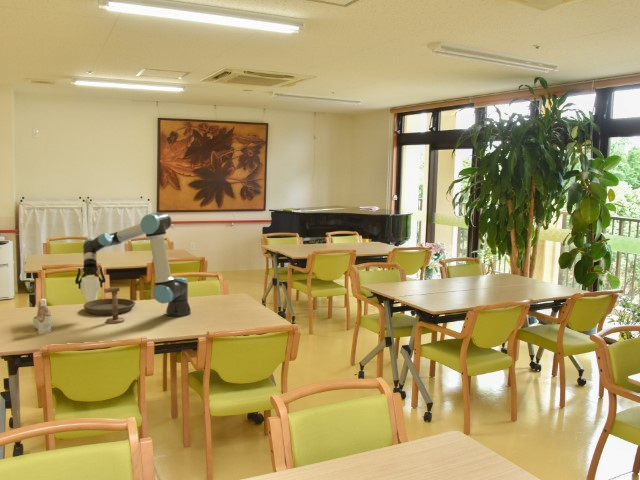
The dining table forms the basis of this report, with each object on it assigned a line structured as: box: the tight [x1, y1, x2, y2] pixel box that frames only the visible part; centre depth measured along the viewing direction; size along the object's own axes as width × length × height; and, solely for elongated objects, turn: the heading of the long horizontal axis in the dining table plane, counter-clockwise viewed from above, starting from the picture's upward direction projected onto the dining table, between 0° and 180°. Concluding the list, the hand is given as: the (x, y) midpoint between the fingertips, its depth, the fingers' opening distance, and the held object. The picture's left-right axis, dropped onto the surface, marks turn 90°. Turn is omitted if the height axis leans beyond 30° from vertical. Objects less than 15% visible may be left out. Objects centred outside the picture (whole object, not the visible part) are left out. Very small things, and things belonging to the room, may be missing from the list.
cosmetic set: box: [32, 298, 52, 335], centre depth 330 cm, size 25×9×19 cm, turn 32°
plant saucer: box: [83, 297, 136, 316], centre depth 374 cm, size 31×31×5 cm
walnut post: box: [103, 286, 125, 325], centre depth 347 cm, size 10×10×20 cm
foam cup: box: [82, 275, 100, 301], centre depth 349 cm, size 10×9×13 cm
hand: (90, 292), depth 346 cm, fingers closed on foam cup, 9 cm apart
